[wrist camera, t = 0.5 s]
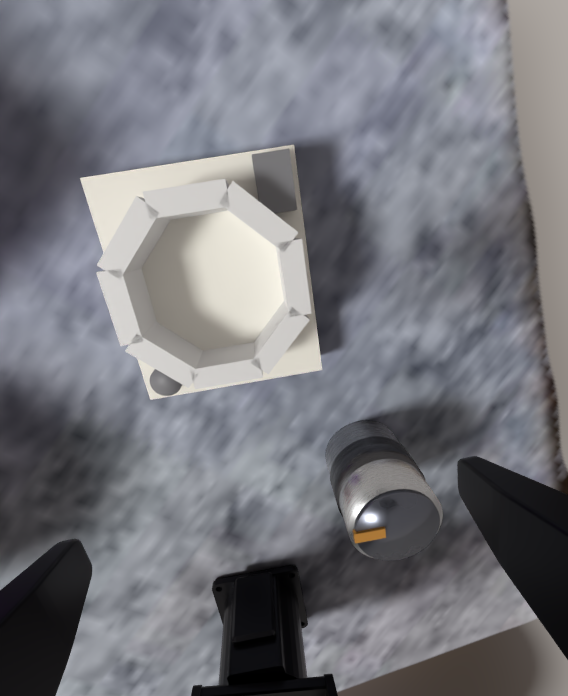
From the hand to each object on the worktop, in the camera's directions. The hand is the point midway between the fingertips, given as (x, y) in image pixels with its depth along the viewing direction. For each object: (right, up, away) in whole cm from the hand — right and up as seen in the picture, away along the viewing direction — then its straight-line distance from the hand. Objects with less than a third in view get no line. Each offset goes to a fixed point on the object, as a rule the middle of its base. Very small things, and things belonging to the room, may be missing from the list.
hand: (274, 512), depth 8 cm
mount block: (-3, +8, +11) cm, 14 cm away
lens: (+5, -3, +15) cm, 17 cm away
